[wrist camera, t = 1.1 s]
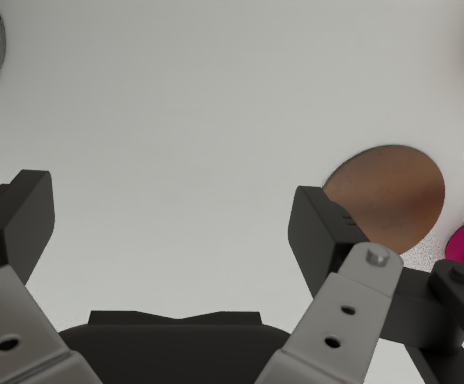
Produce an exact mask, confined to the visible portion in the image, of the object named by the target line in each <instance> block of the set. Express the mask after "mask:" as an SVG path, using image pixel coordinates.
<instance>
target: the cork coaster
mask: <svg viewBox="0 0 464 384" xmlns="http://www.w3.org/2000/svg"><path fill="white" fill-rule="evenodd" d="M323 191H324V192H325V194H326V195H327V196H328V198H329V199H330V201H335V202H336V203H338V204H339V205H341V206H342V207H344V208H345V209H346V210H347V211H348V213H349V214H350V215H351V217H352V219H354V221H355V222H356V223H357V226H359V227H360V228H361V230H362V231H363V232H364V234H365V235H366V236H367V238H368V239H369V240H370V242H371V243H377V244H380V245H383V246H386V247H388V248H390V249H392V250H393V251H395V252H396V253H397V254H398V255H401V254H403V253H404V252H406V251H408V250H409V249H411V248H412V247H414V246H415V245H416V244H418V243H419V242H420V241H421V240H422V239H423V238H424V237H425V236H426V235H427V234H428V233H429V231H430V230H431V229H432V228H433V226H434V224H435V223H436V221H437V219H438V217H439V215H440V213H441V210H442V207H443V204H444V199H445V185H444V180H443V176H442V174H441V172H440V170H439V168H438V167H437V165H436V164H435V163H434V162H433V161H432V160H431V159H430V158H429V157H428V156H426V155H425V154H424V153H422V152H420V151H418V150H416V149H413V148H410V147H405V146H393V145H391V146H382V147H377V148H373V149H370V150H367V151H365V152H362V153H360V154H358V155H356V156H354V157H353V158H351V159H350V160H348V161H347V162H345V163H344V164H343V165H342V166H340V167H339V168H338V169H337V170H336V171H335V172H334V173H333V174H332V176H331V177H330V178H329V179H328V181H327V182H326V184H325V186H324V187H323Z"/></svg>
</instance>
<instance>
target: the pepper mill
mask: <svg viewBox="0 0 464 384" xmlns="http://www.w3.org/2000/svg"><path fill="white" fill-rule="evenodd" d="M445 256H446V259H449V260H455V261H459V262H462V263H464V227H462V228H461V229H459V230H458V231H457V232H456V233H455V234H454V235H453V237H452V238H451V239H450V241H449V243H448V245H447V247H446V254H445Z"/></svg>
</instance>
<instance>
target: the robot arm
mask: <svg viewBox="0 0 464 384" xmlns="http://www.w3.org/2000/svg"><path fill="white" fill-rule="evenodd" d="M4 53H5V35H4V29H3V25H2V22H1V18H0V68H1V65H2V63H3V59H4ZM54 223H55V213H54V202H53V190H52V179H51V174H50V172H49V171H41V170H24V169H23V170H21V171H20V172H19V173H18V175H17V176H16V177H15V178H14V179H13V180H12V181H11V183H10V184H1V185H0V384H363V382H364V379H365V376H366V373H367V371H368V368H369V365H370V362H371V359H372V356H373V353H374V350H375V347H376V345H377V342H378V339H379V338H382V339H386V340H390V341H393V342H397V343H401V344H404V346H405V348H406V350H407V352H408V353H409V355H410V357H411V359H412V361H413V362H414V364H415V366H416V368H417V369H418V371H419V373H420V375H421V377H422V378H423V380H424V382H425V384H464V348H463V347H462V343H463V341H464V263H462V262H459V261H455V260H449V259H443V260H438V261H437V262H435V264H434V266H433V269H432V271H431V273H429V272H424V271H420V270H415V269H411V268H407V267H403V266H404V262H403V260H402V258H401V257H400V255H398V254H397V253H396V252H395V251H393V250H392V249H390V248H388V247H386V246H383V245H380V244H377V243H371V242H370V240H369V239H368V238H367V236H366V235H365V234H364V232H363V231H362V230H361V228H360V227H359V226H357V223H356V222H355V221H354V219H352V217H351V215H350V214H349V213H348V211H347V210H346V209H345V208H344V207H342V206H341V205H339V204H338V203H336V202H335V201H330V199H329V198H328V196H327V195H326V194H325V192H324V191H323V189H322V188H321V187H312V186H298V187H297V189H296V192H295V196H294V201H293V206H292V211H291V216H290V221H289V226H288V240H289V244H290V246H291V248H292V251H293V253H294V255H295V258H296V260H297V262H298V265H299V267H300V269H301V272H302V274H303V276H304V278H305V281H306V283H307V285H308V288H309V290H310V292H311V295H312V297H313V301H312V303H311V304H310V306H309V307H308V309H307V310H306V312H305V313H304V315H303V317H302V318H301V320H300V321H299V323H298V324H297V326H296V328H295V329H294V331H293V332H292V334H289V333H287V332H285V331H283V330H280V329H278V328H275V327H272V326H269V325H264V324H262V321H261V317H260V313H259V312H225V311H220V312H215V313H209V314H204V315H199V316H193V317H188V318H183V319H173V318H168V317H163V316H158V315H153V314H148V313H143V312H138V311H91V314H90V317H89V321H88V324H83V325H79V326H75V327H72V328H69V329H66V330H64V331H61V332H59V333H58V332H57V331H56V330H55V328H54V327H53V325H52V324H51V323H50V321H49V320H48V318H47V317H46V315H45V314H44V313H43V311H42V310H41V308H40V307H39V305H38V304H37V303H36V301H35V300H34V298H33V297H32V296H31V294H30V293H29V291H28V290H27V288H26V287H25V285H26V283H27V281H28V279H29V277H30V275H31V274H32V272H33V270H34V268H35V266H36V264H37V262H38V260H39V258H40V256H41V254H42V253H43V251H44V249H45V247H46V245H47V243H48V241H49V239H50V237H51V235H52V233H53V229H54Z"/></svg>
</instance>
